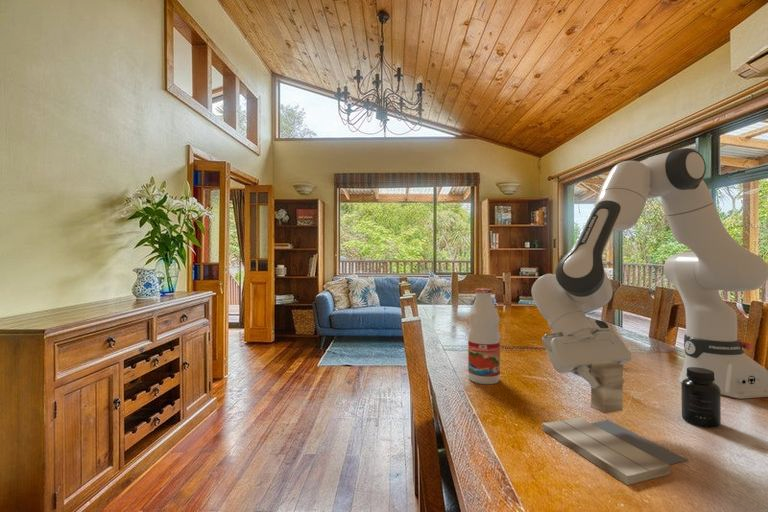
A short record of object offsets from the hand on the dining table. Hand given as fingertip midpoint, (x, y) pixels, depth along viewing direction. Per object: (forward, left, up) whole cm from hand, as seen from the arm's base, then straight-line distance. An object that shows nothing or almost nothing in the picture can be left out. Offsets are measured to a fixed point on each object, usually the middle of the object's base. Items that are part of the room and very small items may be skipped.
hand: (609, 385), depth 80 cm
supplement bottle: (-23, -5, -10) cm, 25 cm away
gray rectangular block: (0, -1, -5) cm, 5 cm away
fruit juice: (+20, -32, -10) cm, 39 cm away
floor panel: (+7, +8, -10) cm, 14 cm away
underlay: (-2, +5, -10) cm, 11 cm away
